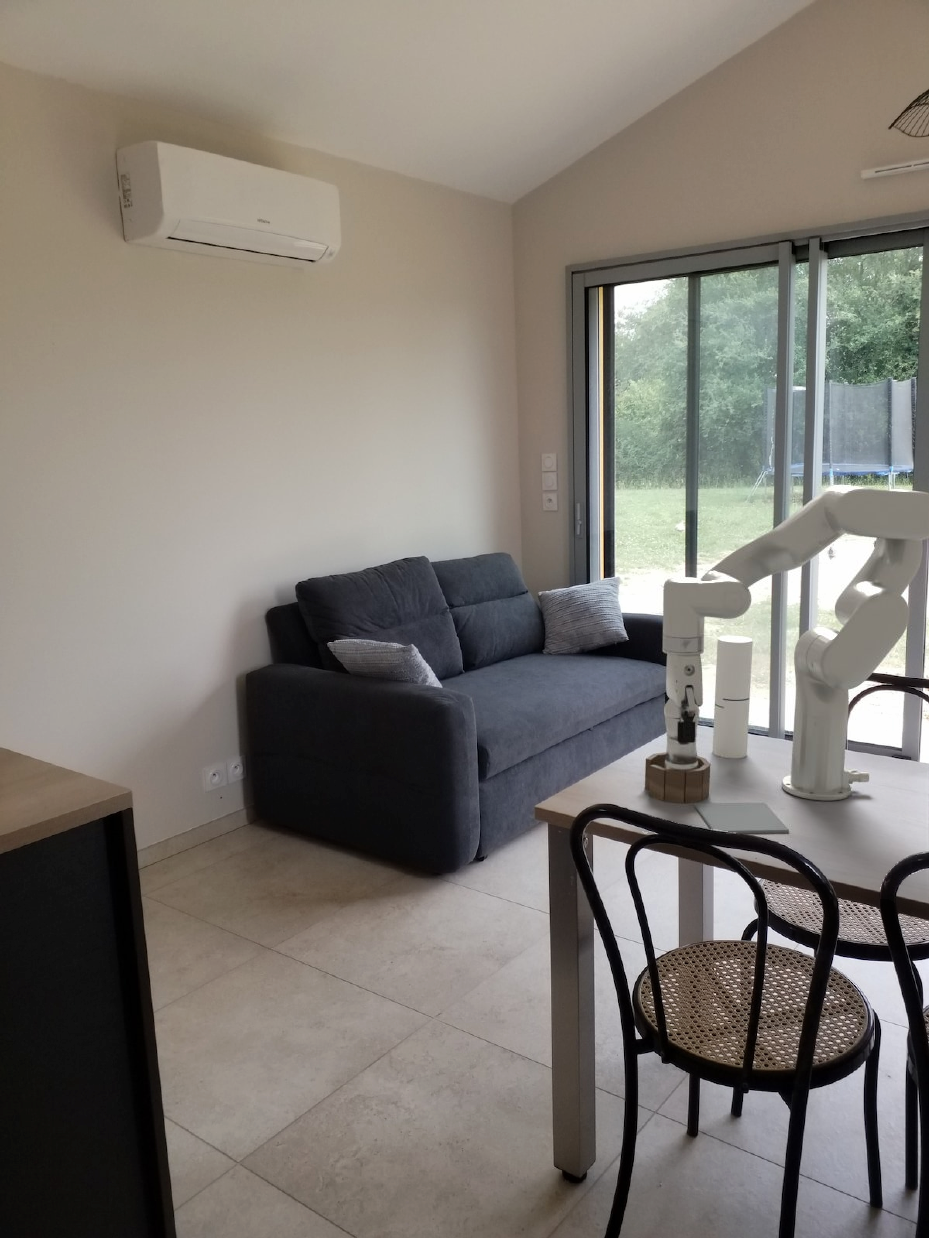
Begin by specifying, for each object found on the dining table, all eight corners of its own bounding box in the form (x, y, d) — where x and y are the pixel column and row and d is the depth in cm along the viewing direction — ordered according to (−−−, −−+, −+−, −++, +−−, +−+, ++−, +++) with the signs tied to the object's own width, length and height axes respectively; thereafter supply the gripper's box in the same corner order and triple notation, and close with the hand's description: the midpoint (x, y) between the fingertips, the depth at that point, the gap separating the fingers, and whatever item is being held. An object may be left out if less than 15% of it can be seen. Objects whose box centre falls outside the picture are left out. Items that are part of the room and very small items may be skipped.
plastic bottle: (699, 790, 188) (701, 687, 184) (662, 789, 189) (664, 686, 186) (698, 779, 194) (700, 679, 190) (663, 777, 195) (664, 678, 192)
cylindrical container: (740, 760, 210) (746, 643, 206) (707, 754, 214) (712, 640, 210) (751, 751, 216) (757, 638, 212) (719, 746, 220) (724, 634, 215)
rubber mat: (764, 804, 185) (764, 802, 185) (788, 832, 172) (789, 829, 172) (694, 805, 185) (694, 803, 185) (713, 833, 172) (713, 830, 172)
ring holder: (698, 780, 198) (699, 751, 197) (715, 802, 186) (716, 771, 185) (640, 781, 198) (641, 752, 197) (653, 803, 186) (654, 772, 185)
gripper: (716, 653, 178) (713, 750, 182) (691, 634, 195) (689, 723, 199) (674, 654, 178) (672, 751, 181) (653, 635, 195) (652, 724, 198)
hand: (681, 735), depth 190 cm, fingers closed on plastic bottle, 6 cm apart
